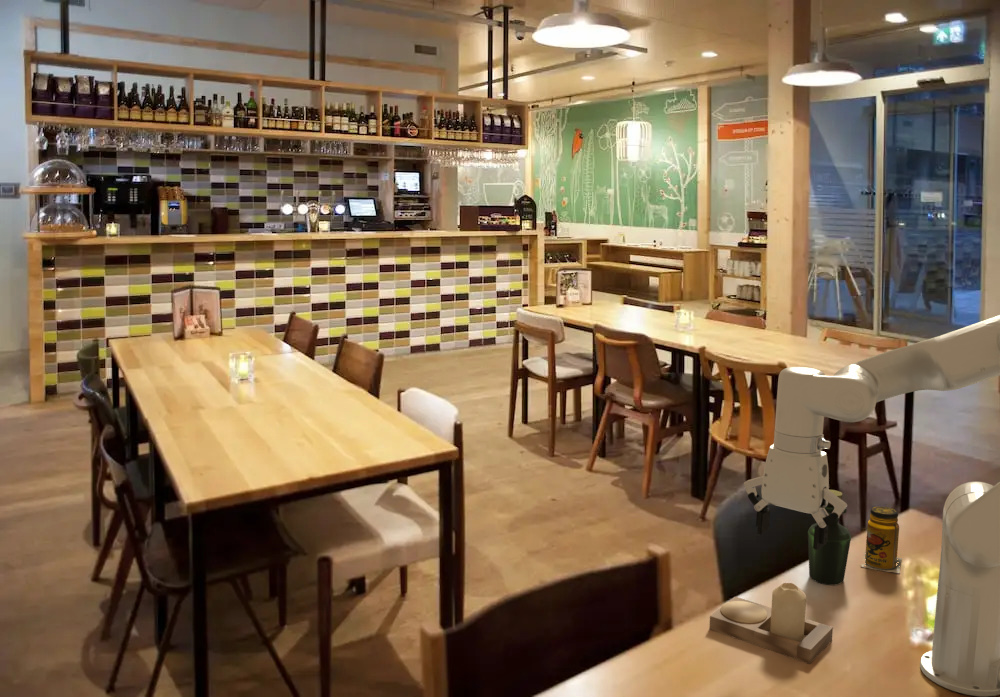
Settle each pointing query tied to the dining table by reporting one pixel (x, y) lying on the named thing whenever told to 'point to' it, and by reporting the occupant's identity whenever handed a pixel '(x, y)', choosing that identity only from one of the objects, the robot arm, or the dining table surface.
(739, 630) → the wooden holder tray
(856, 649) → the dining table surface
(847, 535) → the potion bottle
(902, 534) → the dining table surface
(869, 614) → the dining table surface
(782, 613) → the candle
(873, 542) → the condiment
